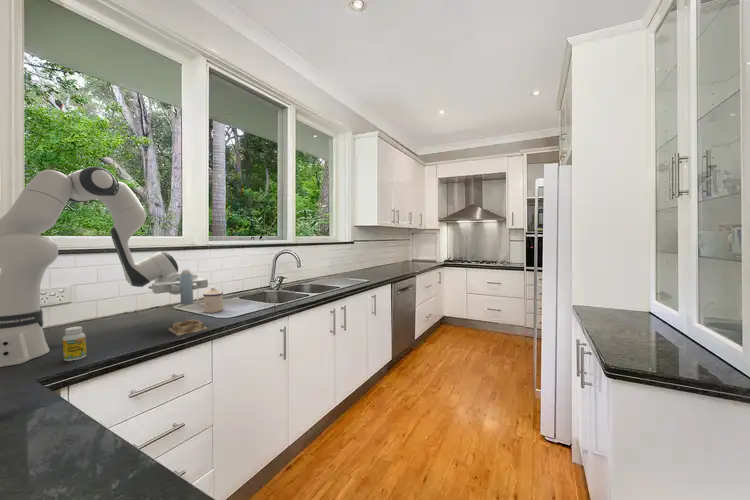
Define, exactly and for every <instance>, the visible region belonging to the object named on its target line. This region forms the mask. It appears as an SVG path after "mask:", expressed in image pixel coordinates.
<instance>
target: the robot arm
mask: <svg viewBox="0 0 750 500" xmlns="http://www.w3.org/2000/svg"><path fill="white" fill-rule="evenodd" d="M94 200H98V201H100V202H101V203H103V205H105V206H106V208H107V210H108V212H109V214H110V215H111V218H112V221H113V222H112V223H113V226H112V227H111V229H110V235H111V239H112V242H113V244H114V245H113V246H114V249H115V251H116V253H117V256H118V258H119V259H118V260H119V261H120V264H121V266H122V269H123V273H124V278H125V280H126V282H127V283H128V284H129V285H130V286H132V287H136V288H144V287H145V286H146V285H148V289H150V290H151V291H152V293H153V294H158V295H159V294H164V293H165V294H166V293H167V294H171V295H175V296H176V295H180V291H181V286H180V274H181V273H179V265H178V263H177V261H176V260H175V258H174V257H173V256H172V255H171V254H169V253H167V252H164V251H159V252H156V253H154V254H151V255H149V256H148V257H146V258H143V259H142V260H139V261H136V262H135V260H134V258H133V256H132V253H131V250H130V248H129V240H130V239H131V237H132V236H133V235H134V234H135V233H137V231H138V230H139V229H141V228H142V227H143V226H144V224H145V222H146V219H147V214H146V212H145V209H144V207H143V205H142V204H141V202H140V200H139V199H138V197H137V196H136V194H135V193H134V191H133V190H132V189H131V188H130V187H129V186H128V185H127V184H126V183H125V182H122V181H119V180H118V179H117V178H115V176H114V175H113V173H111V172H110V171H109V170H108V169H106V168H104V167H101V166H88V167H85V168H82V169H79V170H75V171H73V172H71V173H69V174H64V173H62V172H61V171H58V170H54V169H44V170H41V171H39V172H38V173H37V174H36V175H35V176H34V177H33V178H31V179H30V181H29V182H28V183H27V184H26V185H25V187H24V188H23V190H22V191H21V193H20V194H19V196H18V197H17V199H16V200H15V201H14V203H13V204H12V205H11V208H10V209H9V210H8V211H7V212H6V213H5V214H4V215H3V216H2V217H1V218H0V368H2V367H8V366H15V365H20V364H24V363H26V362H27V361H30V360H32V359H35V358H38V357H41V356H44V355H45V354H47V353H49V352H50V351H51V350H50V348H49V346H48V343H47V341H46V337H45V334H44V330H43V329H44V328H43V326H44V323H45V322H44V312H43V310H42V308H41V283H42V280H43V277H44V274H45V272H46V270H47V269H48V268H49V266H51V264H53V263H54V262H55V261H56V259H58V255H59V248H58V245H57V243H56V242H55V240H53V239H51V238H50V237H49V236H45V235H41V234H43V233H44V232H47V231H48V230H50V229H52V228H53V227H54V225H55V224H56V223H57V221H58V219H59V218H60V216H61V214H62V212H63V211H64V209H65V207H66V205H67V203H68V201H70V202H73V203H85V202H88V201H94ZM192 279H193V291H195V290H198V289H206V288H208V287H209V280H208V279H207V278H206V277H202V276H199V275H198V274H192ZM152 281H154V282H152ZM151 282H152V284H151V285H150V286H149V283H151Z"/></svg>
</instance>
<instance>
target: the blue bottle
mask: <svg viewBox="0 0 750 500" xmlns="http://www.w3.org/2000/svg"><path fill="white" fill-rule="evenodd" d="M179 274H180V286H181V291H180V294H179V295H180V305H182V306H185V305H192V304H194V290H193V279H192V275H193V273H192V272H191V270H190V269H188V268H185V269H183V270H181V273H179Z"/></svg>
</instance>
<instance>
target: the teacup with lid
mask: <svg viewBox="0 0 750 500" xmlns="http://www.w3.org/2000/svg"><path fill="white" fill-rule="evenodd" d="M223 297H224V292H223V291H221V290H219V289H216V287H213V286H212V287H211V288H210V289H208V290H207V291H205V292H203V294H202V296H201V297H200V296H199V297H198V298H197V299H196V305H197V306H198V307H199V308H203V312H204V313H208V314H210V313H211V314H212V313H213V314H215V313H220V312H222V311H223V310H224V298H223ZM199 300H203V305H201V304H199Z"/></svg>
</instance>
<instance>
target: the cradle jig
mask: <svg viewBox="0 0 750 500" xmlns="http://www.w3.org/2000/svg"><path fill="white" fill-rule="evenodd" d="M168 331H169V332H171V333H173V334H174V335H176V336H182V335H188V334H193V333H196V332H202V331H208V327H206V326H205V323H204V322H202V321H200V320H198V319H196V318H194V319H190V320H183V321H178V322H173V323H171V327H169V328H168Z"/></svg>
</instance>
